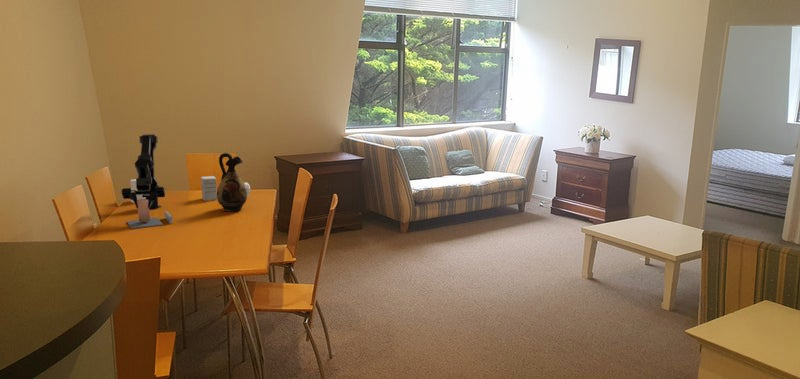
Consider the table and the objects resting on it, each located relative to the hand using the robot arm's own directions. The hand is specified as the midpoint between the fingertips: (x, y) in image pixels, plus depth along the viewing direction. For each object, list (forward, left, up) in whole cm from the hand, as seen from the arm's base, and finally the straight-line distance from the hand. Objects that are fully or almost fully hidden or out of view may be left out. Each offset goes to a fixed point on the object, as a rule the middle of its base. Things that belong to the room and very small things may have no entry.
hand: (143, 207), depth 281 cm
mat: (-1, 0, -8) cm, 8 cm away
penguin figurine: (-63, +21, -9) cm, 67 cm away
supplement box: (-56, +6, -8) cm, 57 cm away
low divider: (-8, +8, -8) cm, 14 cm away
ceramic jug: (-36, +28, -8) cm, 46 cm away
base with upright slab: (-43, -29, -8) cm, 53 cm away
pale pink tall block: (-1, -1, -7) cm, 7 cm away
